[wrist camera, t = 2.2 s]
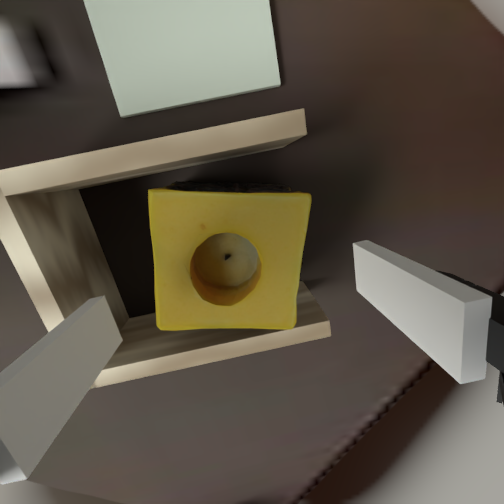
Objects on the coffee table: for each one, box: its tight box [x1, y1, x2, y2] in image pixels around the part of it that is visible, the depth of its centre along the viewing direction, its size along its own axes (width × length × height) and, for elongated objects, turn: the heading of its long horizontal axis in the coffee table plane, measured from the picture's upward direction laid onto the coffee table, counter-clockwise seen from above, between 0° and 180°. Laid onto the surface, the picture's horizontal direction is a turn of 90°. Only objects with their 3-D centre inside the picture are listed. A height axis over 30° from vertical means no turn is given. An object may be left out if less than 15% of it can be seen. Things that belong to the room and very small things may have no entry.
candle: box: [148, 181, 311, 331], centre depth 21 cm, size 10×10×10 cm
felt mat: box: [84, 0, 281, 118], centre depth 20 cm, size 14×14×1 cm
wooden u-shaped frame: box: [0, 108, 331, 389], centre depth 22 cm, size 17×21×8 cm
